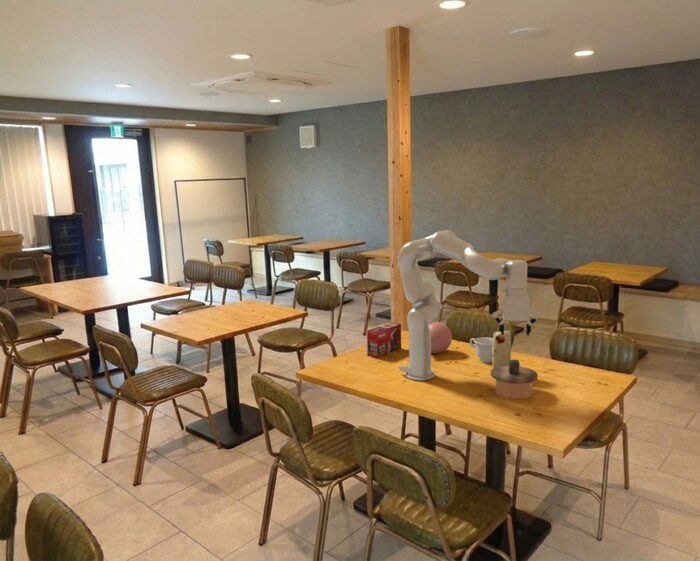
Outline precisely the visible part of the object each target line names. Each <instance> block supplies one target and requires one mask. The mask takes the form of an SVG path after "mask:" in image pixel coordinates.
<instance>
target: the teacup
mask: <svg viewBox="0 0 700 561" xmlns="http://www.w3.org/2000/svg"><path fill="white" fill-rule="evenodd" d="M473 342H474V343H473ZM469 344H470V346H471V347H472V348H474V350H475V353H476V356H477V358H479V361H480V362H481V361H482V363H484V362H485V363H487V364H489V363H492V347H493V337H487V336H486V337H483V336H482V337H481V336H480V337H477V338H474V337H473V338H470V339H469Z"/></svg>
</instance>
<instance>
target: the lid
mask: <svg viewBox="0 0 700 561" xmlns="http://www.w3.org/2000/svg"><path fill="white" fill-rule="evenodd" d="M520 365H521V364H520V360H519V359H509V366H500V367H496V368H493V369H491V370H490V376H491V377H492V378H493V379H497V380H499V381H503V382H508V383H529V382H535V381H537V380H538V376H539V374H538V373H537V372H536V370H533V369H531V368H529V367H528V368H527V367H524V366H520Z"/></svg>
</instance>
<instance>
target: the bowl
mask: <svg viewBox="0 0 700 561" xmlns="http://www.w3.org/2000/svg"><path fill="white" fill-rule="evenodd" d="M494 379H495V378H494ZM533 382H534V381H533ZM533 382H529V383H508V382H503V381H499V380H497V379H495V383H494V384H495V388H494V390H495V394H496V395H499V396H501V397H503V398H507V399H514V400H516V399H517V400H522V399H527V398H530V397H531V396H532V395H533V389H534V384H533Z"/></svg>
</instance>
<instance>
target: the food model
mask: <svg viewBox="0 0 700 561" xmlns="http://www.w3.org/2000/svg"><path fill="white" fill-rule="evenodd" d="M511 336H512V335H511V331H510V330H504V335H502V334H501V332H500V331H494V332H493V337H492V338H493V347H492V362H491V364H492V366H491V367H492V369H493V368H496V367H500V366H509V359H510V360H512V359H511V357H512V337H511ZM492 369H491V370H492Z"/></svg>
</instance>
